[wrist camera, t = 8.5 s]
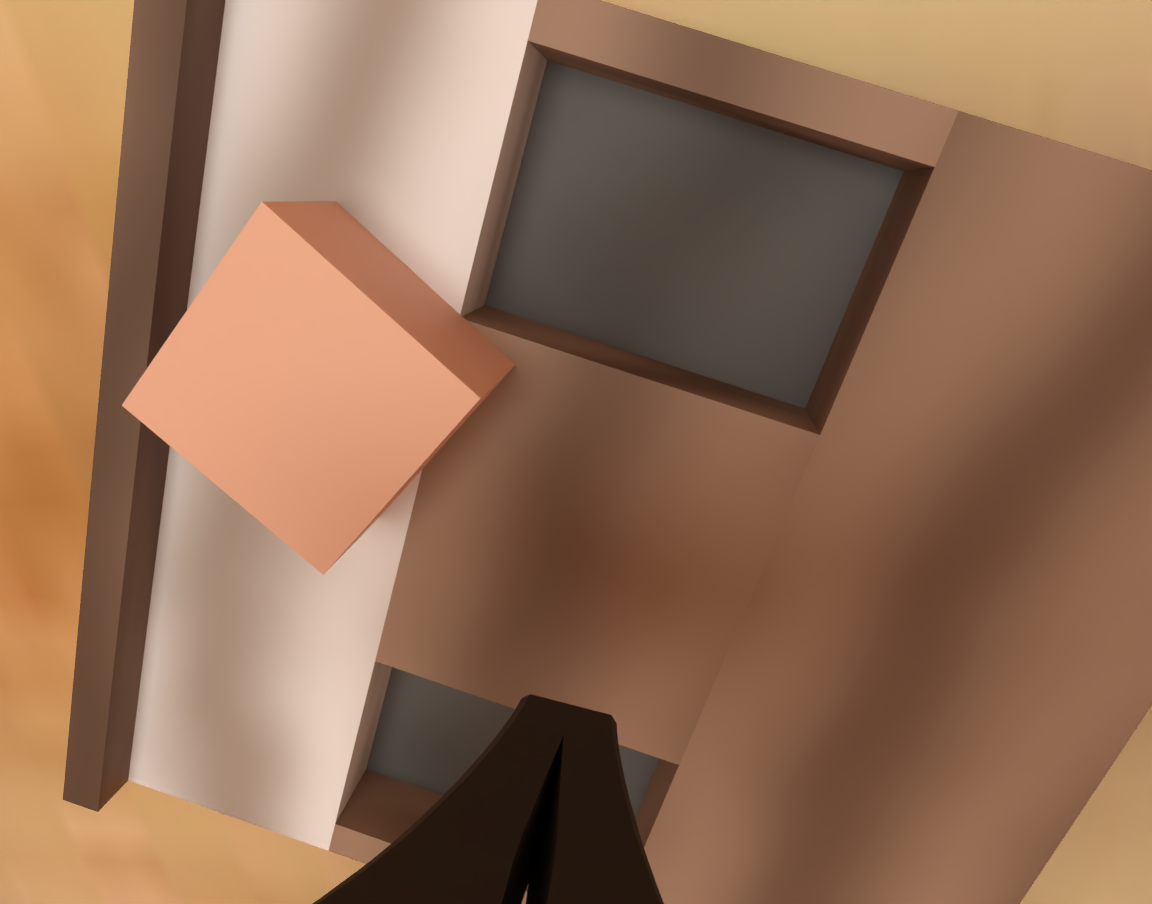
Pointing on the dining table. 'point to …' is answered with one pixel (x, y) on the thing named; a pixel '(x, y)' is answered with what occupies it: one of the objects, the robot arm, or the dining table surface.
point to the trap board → (646, 451)
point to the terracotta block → (314, 376)
